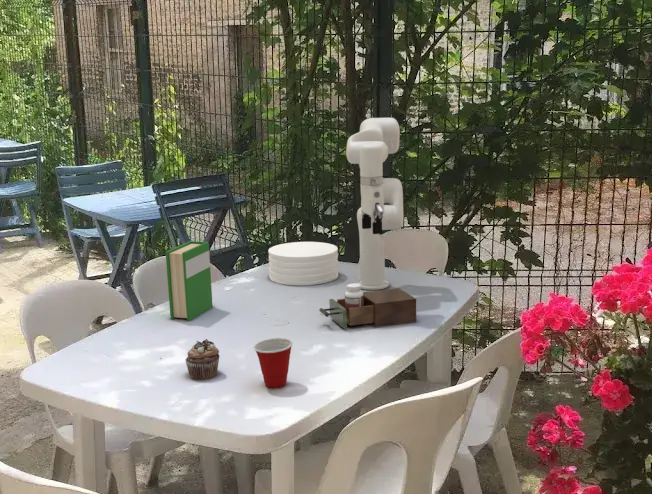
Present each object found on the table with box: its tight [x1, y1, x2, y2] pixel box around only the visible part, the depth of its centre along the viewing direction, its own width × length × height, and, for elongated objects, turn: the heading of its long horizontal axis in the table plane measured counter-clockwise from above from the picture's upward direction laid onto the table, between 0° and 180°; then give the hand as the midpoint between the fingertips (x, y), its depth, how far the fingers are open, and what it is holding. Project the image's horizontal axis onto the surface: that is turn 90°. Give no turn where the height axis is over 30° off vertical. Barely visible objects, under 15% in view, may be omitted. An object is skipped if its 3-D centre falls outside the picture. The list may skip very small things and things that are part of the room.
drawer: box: [319, 298, 375, 329], centre depth 286 cm, size 18×13×6 cm
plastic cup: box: [252, 337, 294, 389], centre depth 234 cm, size 11×11×12 cm
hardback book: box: [165, 240, 214, 322], centre depth 301 cm, size 18×7×24 cm, turn 159°
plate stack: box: [268, 241, 339, 286], centre depth 348 cm, size 28×28×12 cm
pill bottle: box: [344, 282, 364, 318], centre depth 285 cm, size 6×6×11 cm
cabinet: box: [362, 287, 417, 328], centre depth 290 cm, size 15×15×8 cm
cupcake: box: [184, 338, 220, 381], centre depth 243 cm, size 10×10×10 cm
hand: (371, 231), depth 293 cm, fingers open, 9 cm apart
